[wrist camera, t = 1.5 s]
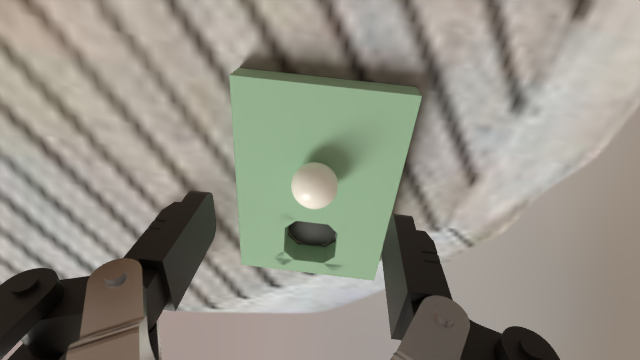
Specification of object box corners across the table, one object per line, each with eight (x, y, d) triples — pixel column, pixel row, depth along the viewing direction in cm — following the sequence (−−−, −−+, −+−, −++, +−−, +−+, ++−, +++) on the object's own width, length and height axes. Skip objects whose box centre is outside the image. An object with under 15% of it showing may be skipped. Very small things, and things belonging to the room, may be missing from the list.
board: (238, 67, 27) (229, 75, 25) (416, 86, 27) (422, 96, 25) (247, 248, 38) (241, 264, 36) (372, 263, 38) (374, 280, 36)
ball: (295, 151, 28) (288, 175, 25) (341, 156, 28) (340, 181, 24) (293, 189, 30) (286, 215, 27) (336, 194, 30) (334, 221, 27)
